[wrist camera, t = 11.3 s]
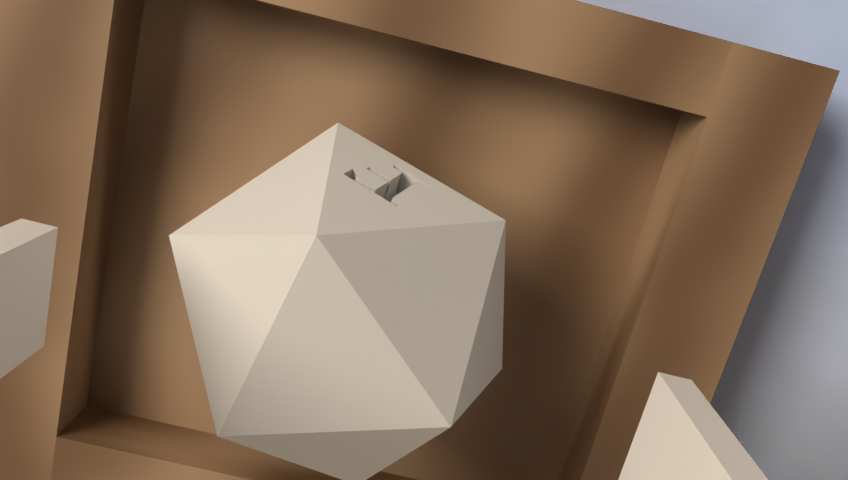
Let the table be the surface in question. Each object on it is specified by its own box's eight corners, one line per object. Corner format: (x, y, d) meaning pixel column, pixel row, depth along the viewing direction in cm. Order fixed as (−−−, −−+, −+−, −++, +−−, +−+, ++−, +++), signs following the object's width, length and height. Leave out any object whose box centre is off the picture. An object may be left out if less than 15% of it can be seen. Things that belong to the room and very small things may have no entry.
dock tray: (784, 68, 22) (840, 70, 19) (605, 555, 26) (627, 617, 23) (68, -122, 20) (9, -151, 18) (7, 422, 25) (-48, 471, 22)
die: (543, 311, 23) (601, 174, 15) (395, 546, 21) (353, 555, 12) (345, 190, 25) (288, 4, 16) (185, 391, 23) (17, 299, 14)
